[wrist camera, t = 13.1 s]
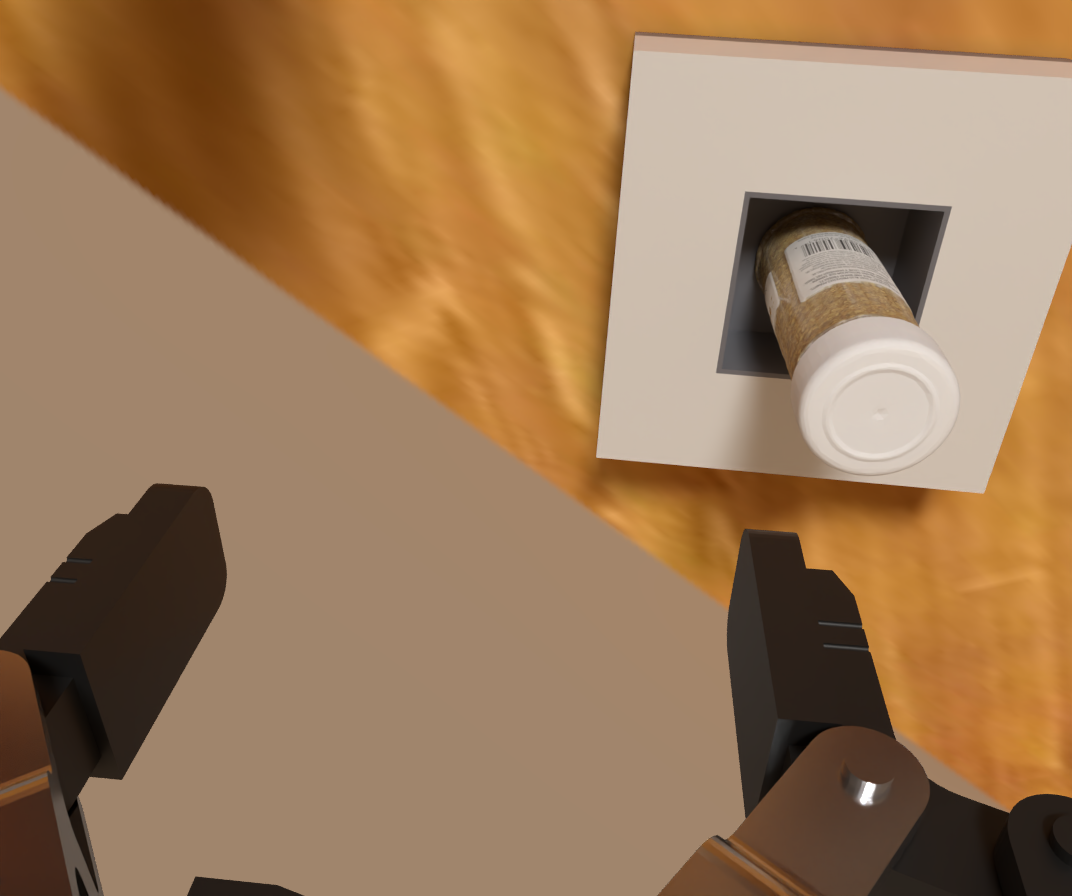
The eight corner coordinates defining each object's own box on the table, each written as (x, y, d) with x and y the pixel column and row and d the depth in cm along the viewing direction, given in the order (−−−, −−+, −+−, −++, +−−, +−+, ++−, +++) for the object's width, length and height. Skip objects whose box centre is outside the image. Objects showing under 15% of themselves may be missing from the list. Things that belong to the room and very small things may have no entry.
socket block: (635, 31, 35) (633, 50, 31) (1068, 58, 34) (1129, 81, 30) (601, 402, 44) (596, 457, 39) (950, 433, 43) (983, 493, 38)
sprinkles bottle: (736, 289, 39) (771, 453, 28) (783, 186, 37) (844, 319, 25) (837, 324, 39) (913, 501, 28) (890, 225, 37) (997, 373, 26)
